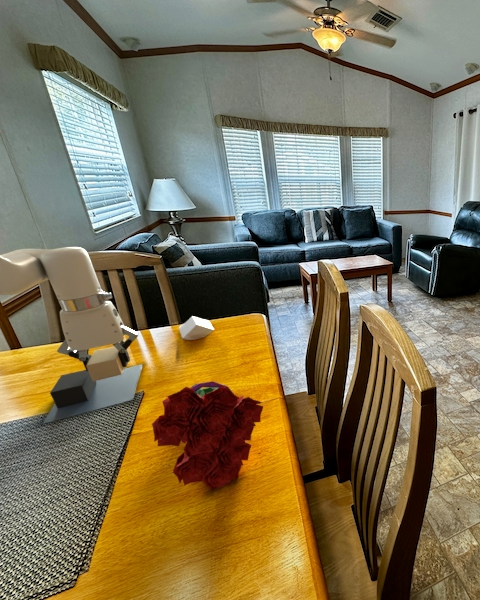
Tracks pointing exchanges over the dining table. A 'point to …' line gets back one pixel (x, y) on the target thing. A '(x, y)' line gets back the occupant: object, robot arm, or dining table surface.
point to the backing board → (102, 395)
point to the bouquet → (208, 432)
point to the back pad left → (73, 388)
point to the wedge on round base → (195, 328)
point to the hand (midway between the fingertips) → (110, 367)
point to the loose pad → (104, 364)
